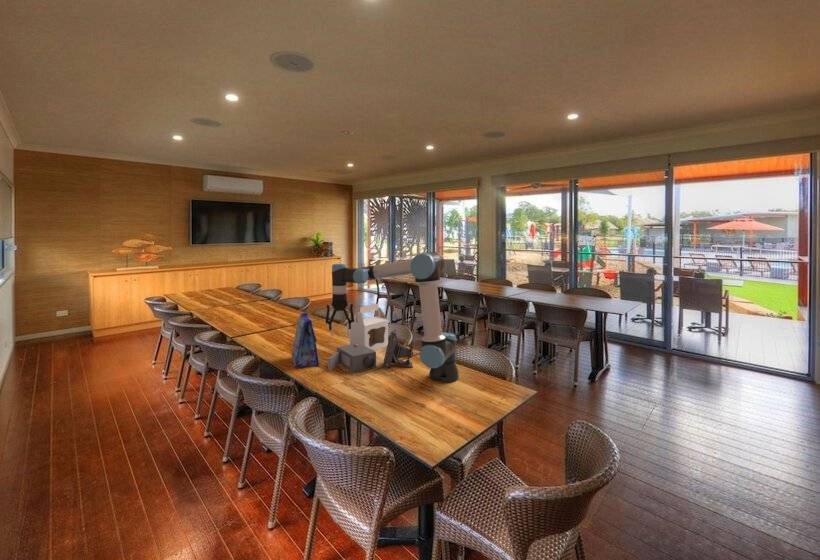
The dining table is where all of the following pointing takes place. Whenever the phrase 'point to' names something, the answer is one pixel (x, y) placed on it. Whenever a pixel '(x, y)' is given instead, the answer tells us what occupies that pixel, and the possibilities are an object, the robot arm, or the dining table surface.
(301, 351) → the lunch bag
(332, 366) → the side door
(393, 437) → the dining table surface
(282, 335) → the dining table surface
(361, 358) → the box
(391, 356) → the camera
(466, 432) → the dining table surface
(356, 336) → the gable box
